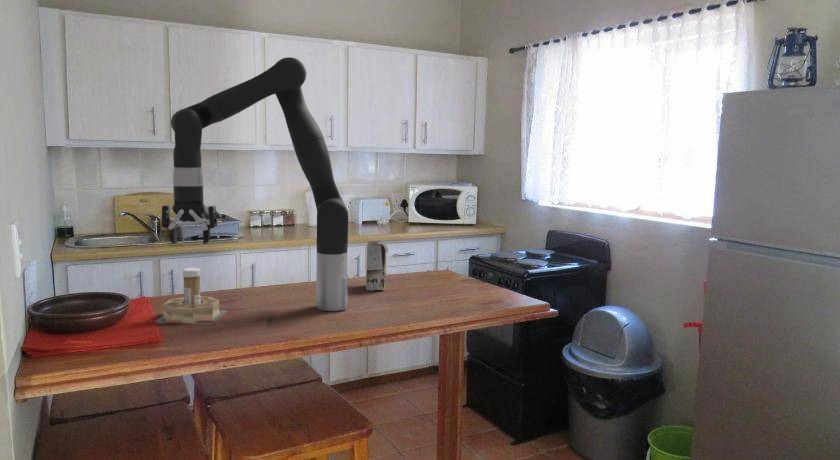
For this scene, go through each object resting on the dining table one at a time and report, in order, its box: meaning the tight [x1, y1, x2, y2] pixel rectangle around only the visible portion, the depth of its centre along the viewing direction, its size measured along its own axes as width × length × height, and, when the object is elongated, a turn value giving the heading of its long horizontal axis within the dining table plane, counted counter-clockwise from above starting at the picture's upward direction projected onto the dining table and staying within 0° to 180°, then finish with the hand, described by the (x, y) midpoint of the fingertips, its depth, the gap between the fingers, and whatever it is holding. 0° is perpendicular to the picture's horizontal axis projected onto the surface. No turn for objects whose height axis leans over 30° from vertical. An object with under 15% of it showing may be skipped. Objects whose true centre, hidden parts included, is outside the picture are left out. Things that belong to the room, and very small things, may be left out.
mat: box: [155, 309, 229, 325], centre depth 168 cm, size 16×14×1 cm
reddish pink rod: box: [165, 319, 216, 324], centre depth 161 cm, size 12×1×1 cm, turn 101°
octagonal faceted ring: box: [162, 295, 220, 323], centre depth 167 cm, size 14×14×4 cm
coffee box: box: [365, 240, 387, 291], centre depth 210 cm, size 9×6×16 cm
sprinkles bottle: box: [182, 267, 202, 305], centre depth 167 cm, size 5×5×14 cm
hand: (190, 243), depth 165 cm, fingers open, 8 cm apart
